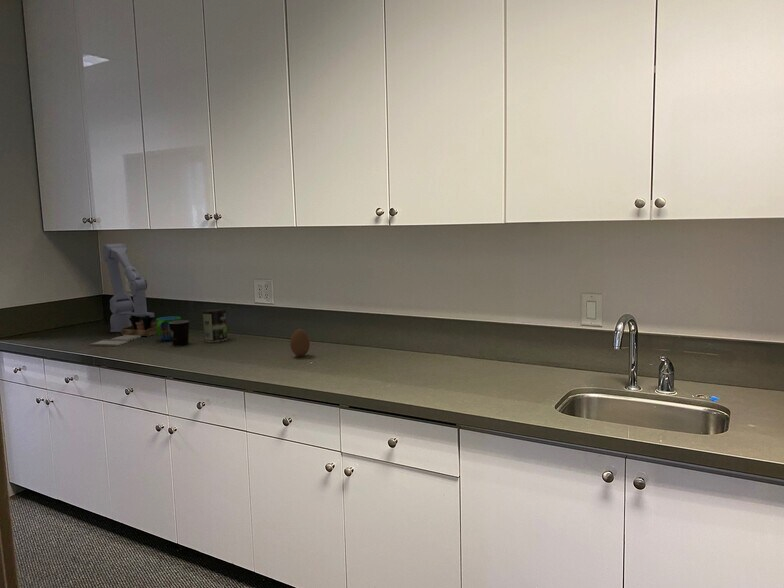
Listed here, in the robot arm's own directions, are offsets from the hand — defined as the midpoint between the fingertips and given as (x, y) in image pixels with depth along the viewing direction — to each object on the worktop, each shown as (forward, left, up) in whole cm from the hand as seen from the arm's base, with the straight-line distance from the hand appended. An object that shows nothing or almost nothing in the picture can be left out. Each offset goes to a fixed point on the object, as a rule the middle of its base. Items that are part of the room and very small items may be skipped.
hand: (142, 331), depth 300 cm
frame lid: (+1, -22, -1) cm, 23 cm away
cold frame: (0, 0, -1) cm, 1 cm away
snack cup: (+23, -8, -2) cm, 24 cm away
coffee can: (+46, -5, -2) cm, 46 cm away
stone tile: (+1, -12, -1) cm, 12 cm away
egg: (+100, -25, -2) cm, 103 cm away
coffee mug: (+36, -17, -2) cm, 40 cm away
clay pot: (0, 0, -1) cm, 1 cm away
